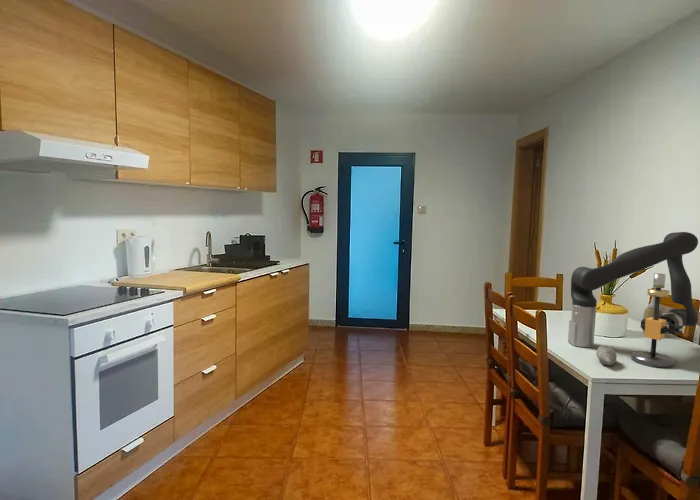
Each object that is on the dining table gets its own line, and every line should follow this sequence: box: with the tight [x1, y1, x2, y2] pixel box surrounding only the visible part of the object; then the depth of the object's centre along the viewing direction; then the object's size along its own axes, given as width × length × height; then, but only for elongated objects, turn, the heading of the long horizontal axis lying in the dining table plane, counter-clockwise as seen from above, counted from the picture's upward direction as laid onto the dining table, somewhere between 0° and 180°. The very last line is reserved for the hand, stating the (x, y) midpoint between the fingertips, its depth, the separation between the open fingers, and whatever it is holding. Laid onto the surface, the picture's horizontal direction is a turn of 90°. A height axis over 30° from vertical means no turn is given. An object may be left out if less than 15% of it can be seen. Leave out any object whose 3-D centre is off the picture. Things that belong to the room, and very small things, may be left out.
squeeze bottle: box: [642, 296, 663, 334], centre depth 214 cm, size 8×8×18 cm
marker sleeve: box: [643, 317, 666, 341], centre depth 176 cm, size 5×5×7 cm
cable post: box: [630, 272, 676, 369], centre depth 175 cm, size 14×14×34 cm
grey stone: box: [595, 344, 618, 366], centre depth 174 cm, size 6×14×8 cm, turn 160°
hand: (652, 329), depth 174 cm, fingers closed on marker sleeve, 5 cm apart
